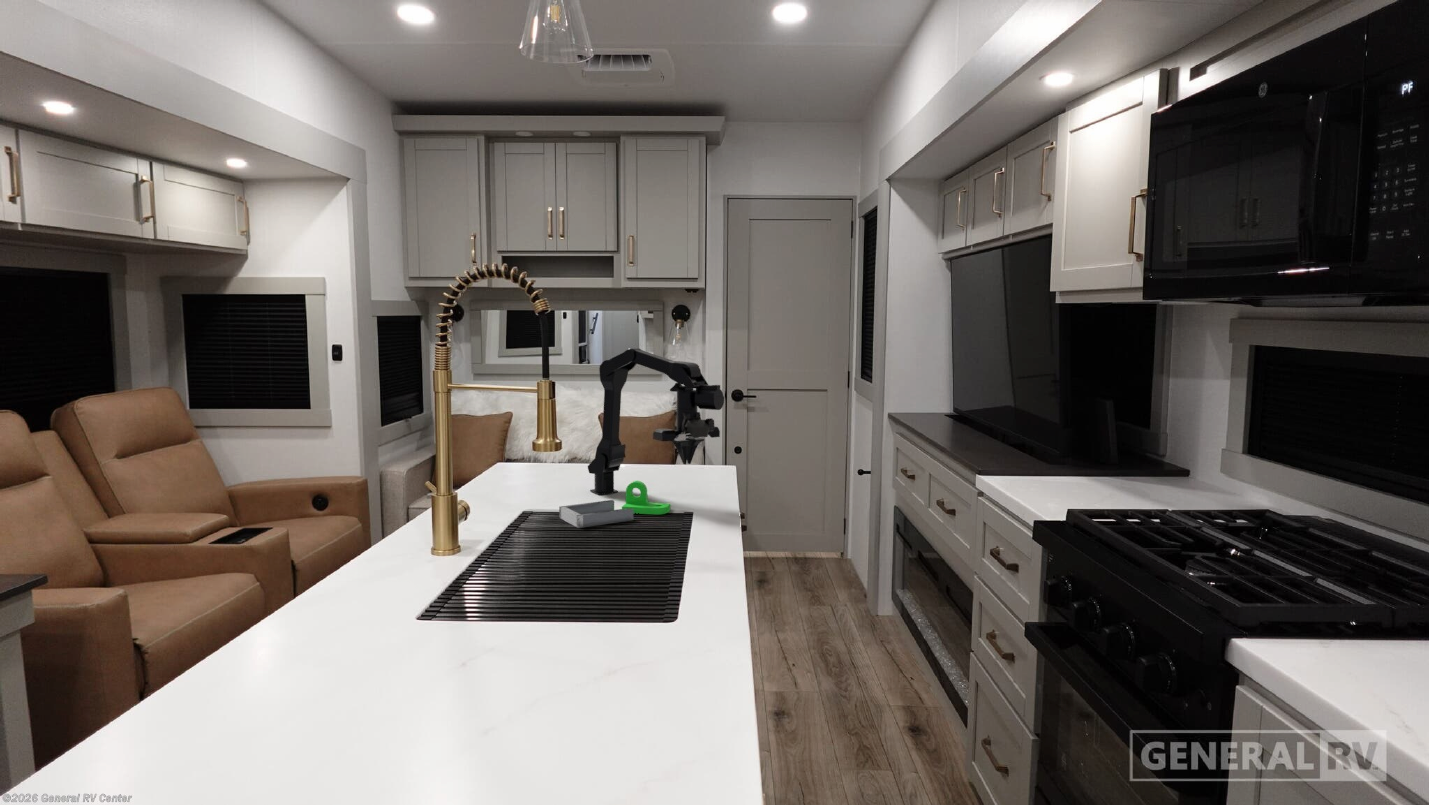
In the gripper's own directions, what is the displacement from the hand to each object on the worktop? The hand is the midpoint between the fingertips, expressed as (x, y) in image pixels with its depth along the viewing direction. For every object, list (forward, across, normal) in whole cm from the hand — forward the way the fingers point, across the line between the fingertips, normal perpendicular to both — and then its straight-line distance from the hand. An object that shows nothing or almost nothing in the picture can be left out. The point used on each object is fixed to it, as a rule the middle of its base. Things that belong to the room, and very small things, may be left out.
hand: (686, 464), depth 208 cm
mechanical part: (+12, -12, +1) cm, 18 cm away
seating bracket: (+12, -27, 0) cm, 30 cm away
